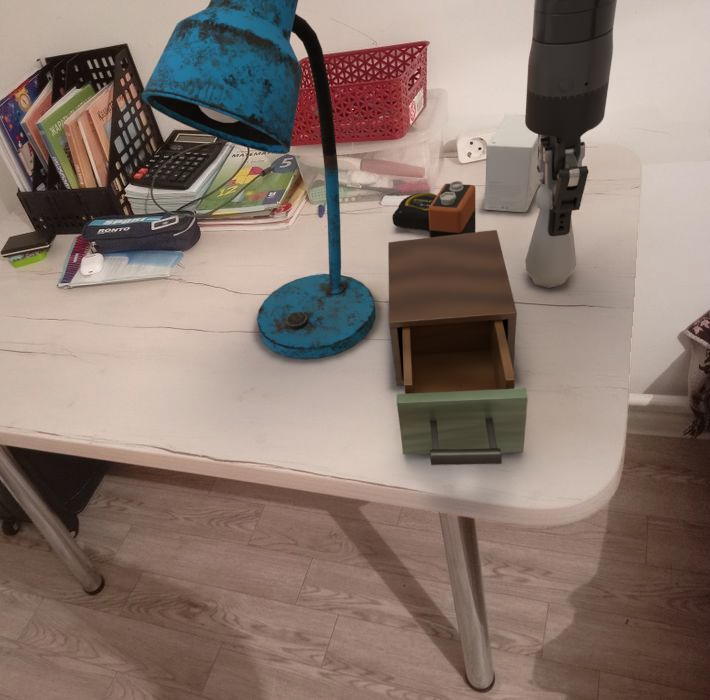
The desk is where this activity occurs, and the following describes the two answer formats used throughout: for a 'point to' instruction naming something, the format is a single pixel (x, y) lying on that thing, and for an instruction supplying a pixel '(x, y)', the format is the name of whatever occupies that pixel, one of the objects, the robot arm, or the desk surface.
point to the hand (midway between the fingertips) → (554, 222)
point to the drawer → (460, 394)
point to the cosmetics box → (511, 166)
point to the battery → (453, 210)
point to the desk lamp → (266, 146)
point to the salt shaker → (549, 249)
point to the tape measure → (414, 212)
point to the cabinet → (448, 286)
